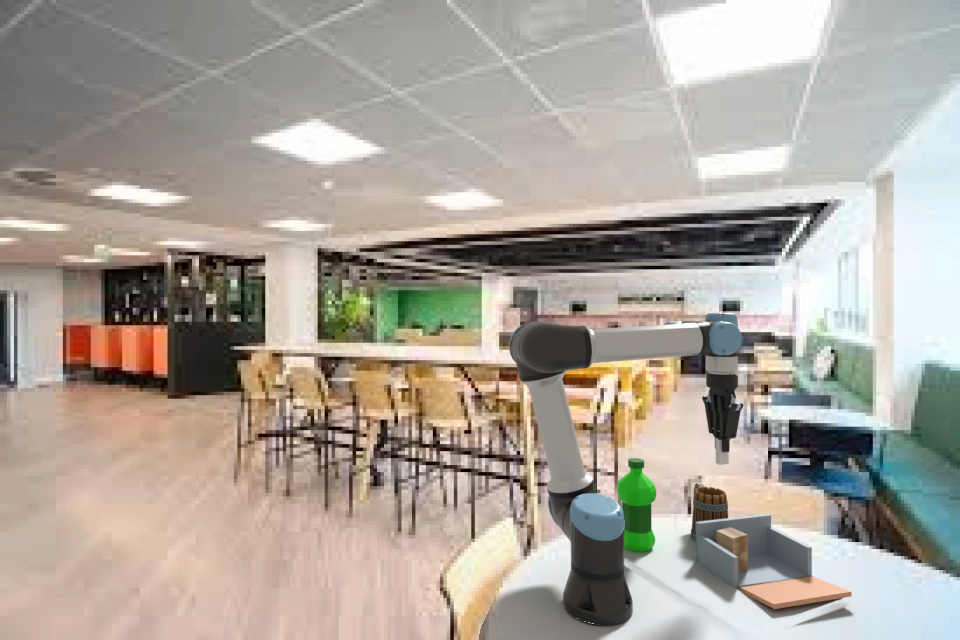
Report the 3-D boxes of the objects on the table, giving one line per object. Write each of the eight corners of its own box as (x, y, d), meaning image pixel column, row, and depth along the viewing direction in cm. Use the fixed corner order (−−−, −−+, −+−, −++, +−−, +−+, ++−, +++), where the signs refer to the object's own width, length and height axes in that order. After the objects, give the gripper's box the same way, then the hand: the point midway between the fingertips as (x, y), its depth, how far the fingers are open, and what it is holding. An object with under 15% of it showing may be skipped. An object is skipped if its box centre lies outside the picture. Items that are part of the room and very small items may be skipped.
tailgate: (737, 590, 123) (774, 609, 112) (737, 585, 123) (773, 603, 112) (810, 579, 128) (851, 596, 117) (809, 574, 128) (851, 591, 117)
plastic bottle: (651, 543, 151) (651, 455, 150) (659, 560, 140) (658, 466, 140) (615, 541, 152) (615, 454, 152) (620, 558, 142) (619, 465, 141)
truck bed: (733, 594, 123) (733, 544, 123) (695, 566, 137) (695, 521, 137) (811, 582, 128) (811, 534, 128) (767, 556, 142) (767, 513, 142)
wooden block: (733, 575, 129) (733, 538, 129) (716, 566, 134) (716, 530, 133) (747, 570, 131) (747, 534, 131) (730, 562, 136) (730, 527, 135)
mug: (738, 552, 145) (737, 497, 144) (699, 552, 145) (698, 497, 145) (713, 529, 160) (713, 479, 160) (678, 529, 160) (678, 479, 160)
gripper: (752, 374, 131) (752, 469, 131) (717, 369, 144) (717, 456, 144) (726, 375, 129) (726, 472, 130) (693, 370, 142) (693, 458, 142)
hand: (722, 463), depth 137 cm, fingers closed
